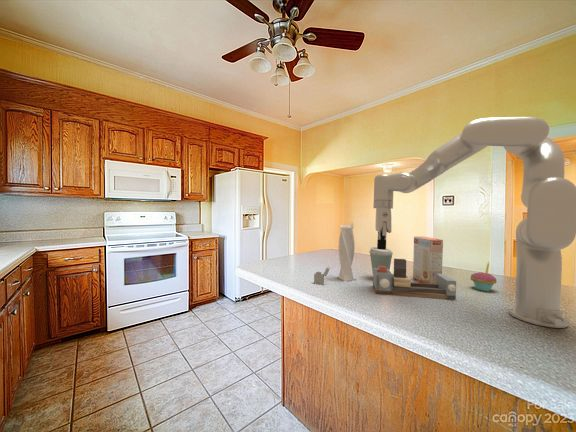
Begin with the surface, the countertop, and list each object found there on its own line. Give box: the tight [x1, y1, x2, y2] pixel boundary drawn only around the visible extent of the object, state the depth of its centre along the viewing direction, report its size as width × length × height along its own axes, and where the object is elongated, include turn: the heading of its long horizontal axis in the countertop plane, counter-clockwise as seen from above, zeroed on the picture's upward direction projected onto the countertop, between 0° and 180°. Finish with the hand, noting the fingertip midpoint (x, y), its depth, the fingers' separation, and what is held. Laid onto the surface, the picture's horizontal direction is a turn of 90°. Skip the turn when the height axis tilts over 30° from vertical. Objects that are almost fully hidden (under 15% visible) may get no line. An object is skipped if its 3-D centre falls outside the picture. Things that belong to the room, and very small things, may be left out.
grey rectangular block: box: [436, 273, 457, 301], centre depth 93 cm, size 11×3×7 cm, turn 168°
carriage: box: [392, 258, 412, 287], centre depth 97 cm, size 8×6×10 cm
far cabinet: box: [372, 268, 394, 296], centre depth 98 cm, size 11×6×8 cm, turn 168°
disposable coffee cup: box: [368, 246, 393, 272], centre depth 115 cm, size 11×11×15 cm
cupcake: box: [470, 261, 497, 292], centre depth 100 cm, size 9×8×12 cm
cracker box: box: [412, 236, 444, 284], centre depth 109 cm, size 14×6×21 cm, turn 179°
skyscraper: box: [336, 222, 358, 282], centre depth 114 cm, size 8×8×28 cm
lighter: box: [313, 266, 331, 286], centre depth 107 cm, size 7×2×8 cm, turn 67°
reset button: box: [378, 265, 387, 272], centre depth 99 cm, size 3×3×4 cm
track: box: [372, 282, 457, 301], centre depth 96 cm, size 10×28×3 cm, turn 78°
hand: (381, 249), depth 99 cm, fingers closed
